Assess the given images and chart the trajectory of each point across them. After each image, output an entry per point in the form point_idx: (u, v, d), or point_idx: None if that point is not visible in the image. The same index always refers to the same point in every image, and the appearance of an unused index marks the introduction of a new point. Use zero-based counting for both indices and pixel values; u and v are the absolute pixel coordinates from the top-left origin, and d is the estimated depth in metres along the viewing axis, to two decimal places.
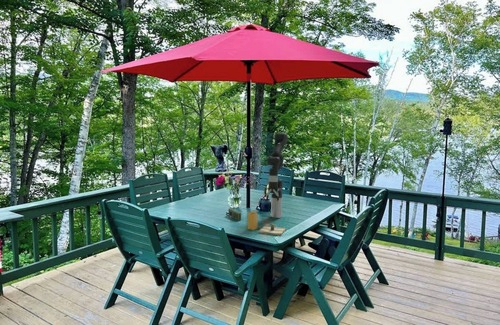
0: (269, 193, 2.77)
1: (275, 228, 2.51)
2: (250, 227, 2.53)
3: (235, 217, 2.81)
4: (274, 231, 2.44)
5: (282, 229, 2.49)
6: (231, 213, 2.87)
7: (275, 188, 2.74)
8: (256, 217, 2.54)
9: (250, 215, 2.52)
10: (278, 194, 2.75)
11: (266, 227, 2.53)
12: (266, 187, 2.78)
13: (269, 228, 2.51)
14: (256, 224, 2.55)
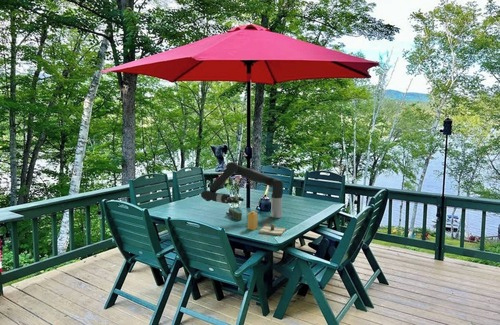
0: (236, 198, 2.64)
1: (275, 228, 2.51)
2: (250, 227, 2.53)
3: (235, 217, 2.81)
4: (274, 231, 2.44)
5: (282, 229, 2.49)
6: (231, 213, 2.87)
7: None
8: (256, 217, 2.54)
9: (250, 215, 2.52)
10: None
11: (266, 227, 2.53)
12: None
13: (269, 228, 2.51)
14: (256, 224, 2.55)
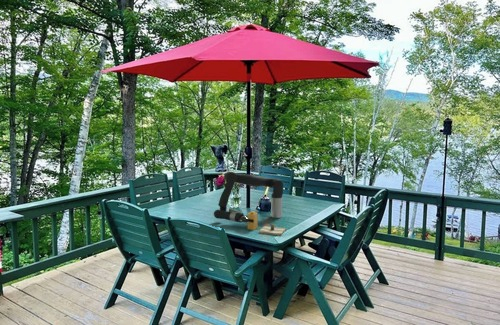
0: None
1: (275, 228, 2.51)
2: (250, 227, 2.53)
3: None
4: (274, 231, 2.44)
5: (282, 229, 2.49)
6: None
7: None
8: (256, 217, 2.54)
9: (250, 215, 2.52)
10: (247, 219, 2.53)
11: (266, 227, 2.53)
12: None
13: (269, 228, 2.51)
14: (256, 224, 2.55)
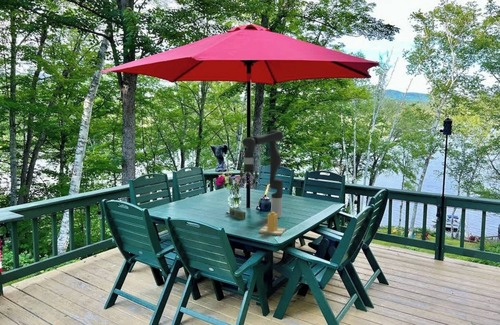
0: None
1: None
2: (270, 228, 2.45)
3: (239, 216, 2.84)
4: (274, 231, 2.44)
5: (282, 229, 2.49)
6: (234, 213, 2.88)
7: (251, 171, 2.61)
8: (276, 218, 2.46)
9: (270, 216, 2.44)
10: (254, 177, 2.62)
11: (266, 227, 2.53)
12: (242, 170, 2.66)
13: None
14: (276, 225, 2.47)
